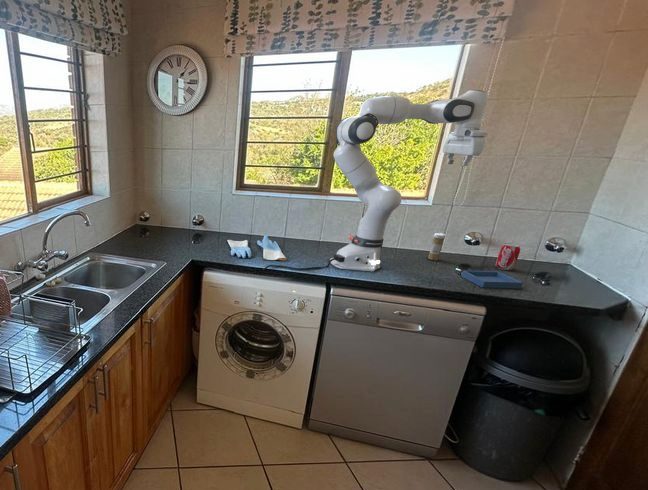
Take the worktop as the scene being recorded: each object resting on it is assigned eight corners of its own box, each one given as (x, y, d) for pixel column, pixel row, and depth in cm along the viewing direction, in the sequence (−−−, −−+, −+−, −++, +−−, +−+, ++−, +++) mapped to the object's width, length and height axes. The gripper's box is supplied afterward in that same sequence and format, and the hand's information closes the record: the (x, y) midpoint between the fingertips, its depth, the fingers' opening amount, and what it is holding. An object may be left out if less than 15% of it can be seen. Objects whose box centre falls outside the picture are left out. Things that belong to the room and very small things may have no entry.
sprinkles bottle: (439, 259, 205) (447, 234, 200) (435, 261, 203) (443, 235, 198) (430, 257, 209) (437, 232, 204) (425, 258, 206) (432, 233, 201)
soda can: (516, 272, 189) (524, 247, 185) (497, 270, 191) (506, 245, 187) (509, 267, 195) (517, 243, 191) (491, 265, 197) (499, 242, 193)
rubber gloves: (231, 258, 204) (232, 246, 201) (227, 241, 234) (228, 230, 232) (286, 261, 201) (288, 248, 198) (275, 243, 231) (276, 232, 229)
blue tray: (482, 287, 171) (484, 281, 170) (460, 276, 183) (462, 270, 182) (520, 288, 170) (522, 282, 169) (496, 277, 182) (498, 271, 181)
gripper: (443, 131, 182) (434, 162, 187) (475, 132, 163) (465, 167, 168) (457, 131, 182) (448, 163, 187) (491, 132, 163) (480, 167, 168)
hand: (456, 165), depth 177 cm, fingers open, 8 cm apart
